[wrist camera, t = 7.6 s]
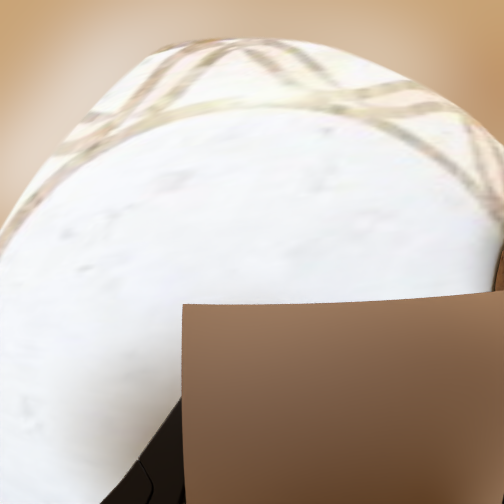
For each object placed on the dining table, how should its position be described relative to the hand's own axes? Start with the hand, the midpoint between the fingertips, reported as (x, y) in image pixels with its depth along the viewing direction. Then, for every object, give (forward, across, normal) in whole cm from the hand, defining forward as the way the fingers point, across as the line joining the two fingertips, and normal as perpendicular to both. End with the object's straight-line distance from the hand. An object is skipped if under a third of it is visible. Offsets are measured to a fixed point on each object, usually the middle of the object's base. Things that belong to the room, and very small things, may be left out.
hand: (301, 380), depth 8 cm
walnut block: (+4, 0, +6) cm, 7 cm away
